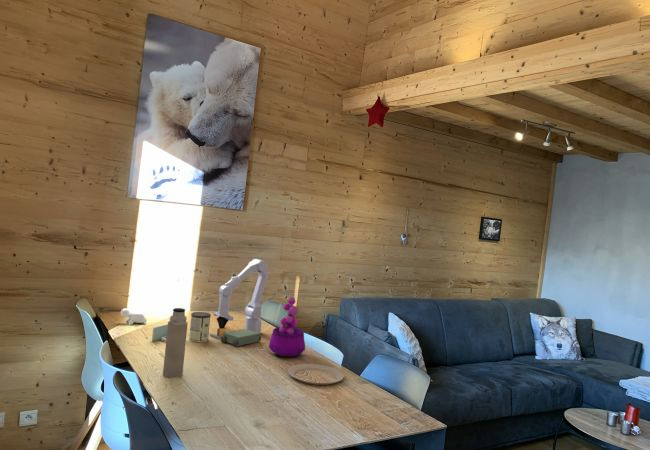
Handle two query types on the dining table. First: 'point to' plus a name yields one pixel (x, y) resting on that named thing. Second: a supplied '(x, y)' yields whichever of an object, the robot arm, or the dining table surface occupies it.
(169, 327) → the thermos bottle
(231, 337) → the grey-green flat box
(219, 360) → the dining table surface
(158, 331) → the right angle wall
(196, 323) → the coffee can
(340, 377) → the plate
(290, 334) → the decorative plant
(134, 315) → the white lumpy figure
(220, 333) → the orange and grey block
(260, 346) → the dining table surface
